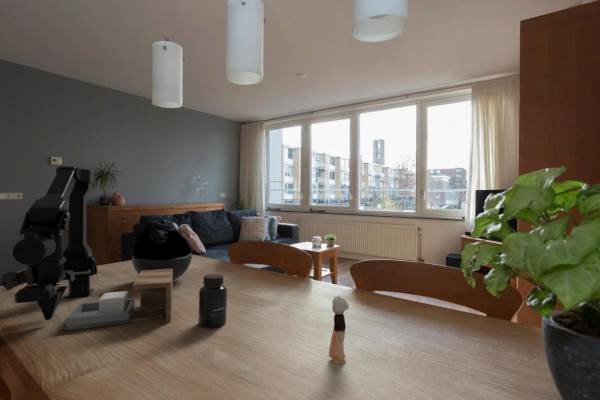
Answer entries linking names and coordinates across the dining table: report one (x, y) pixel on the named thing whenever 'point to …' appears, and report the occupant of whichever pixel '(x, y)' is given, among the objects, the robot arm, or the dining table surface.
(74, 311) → the tray
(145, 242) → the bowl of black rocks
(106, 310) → the small box
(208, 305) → the supplement bottle
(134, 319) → the rails
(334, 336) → the grandmother figurine
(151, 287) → the shelf
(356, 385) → the dining table surface
